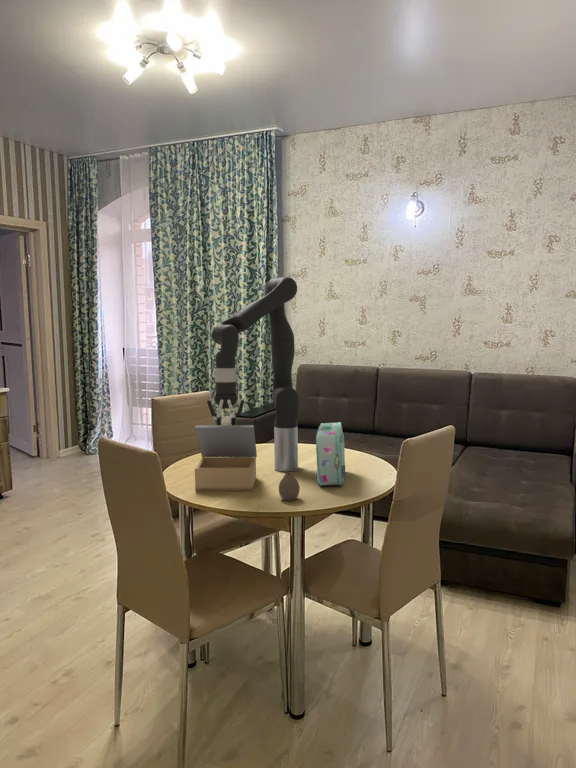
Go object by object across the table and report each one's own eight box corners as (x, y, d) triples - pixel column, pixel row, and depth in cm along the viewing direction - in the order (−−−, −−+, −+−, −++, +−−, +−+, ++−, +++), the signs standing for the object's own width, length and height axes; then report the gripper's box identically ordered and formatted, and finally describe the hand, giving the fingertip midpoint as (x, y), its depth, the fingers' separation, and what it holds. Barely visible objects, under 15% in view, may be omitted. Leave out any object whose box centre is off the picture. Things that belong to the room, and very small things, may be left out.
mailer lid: (256, 457, 211) (257, 441, 216) (253, 427, 198) (254, 412, 202) (201, 457, 211) (204, 442, 216) (195, 427, 198) (197, 412, 203)
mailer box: (256, 478, 212) (255, 457, 211) (252, 490, 196) (252, 468, 195) (203, 478, 212) (202, 457, 211) (195, 490, 196) (194, 468, 196)
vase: (276, 496, 189) (276, 471, 188) (296, 495, 191) (296, 470, 190) (281, 503, 183) (281, 477, 182) (301, 501, 184) (301, 475, 183)
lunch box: (345, 490, 196) (345, 430, 193) (315, 490, 196) (315, 429, 194) (344, 470, 222) (344, 416, 220) (318, 470, 223) (318, 416, 220)
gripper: (246, 379, 206) (246, 426, 208) (207, 379, 207) (208, 426, 208) (244, 381, 199) (245, 429, 200) (204, 381, 199) (205, 429, 200)
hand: (226, 427), depth 204 cm, fingers closed on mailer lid, 4 cm apart
